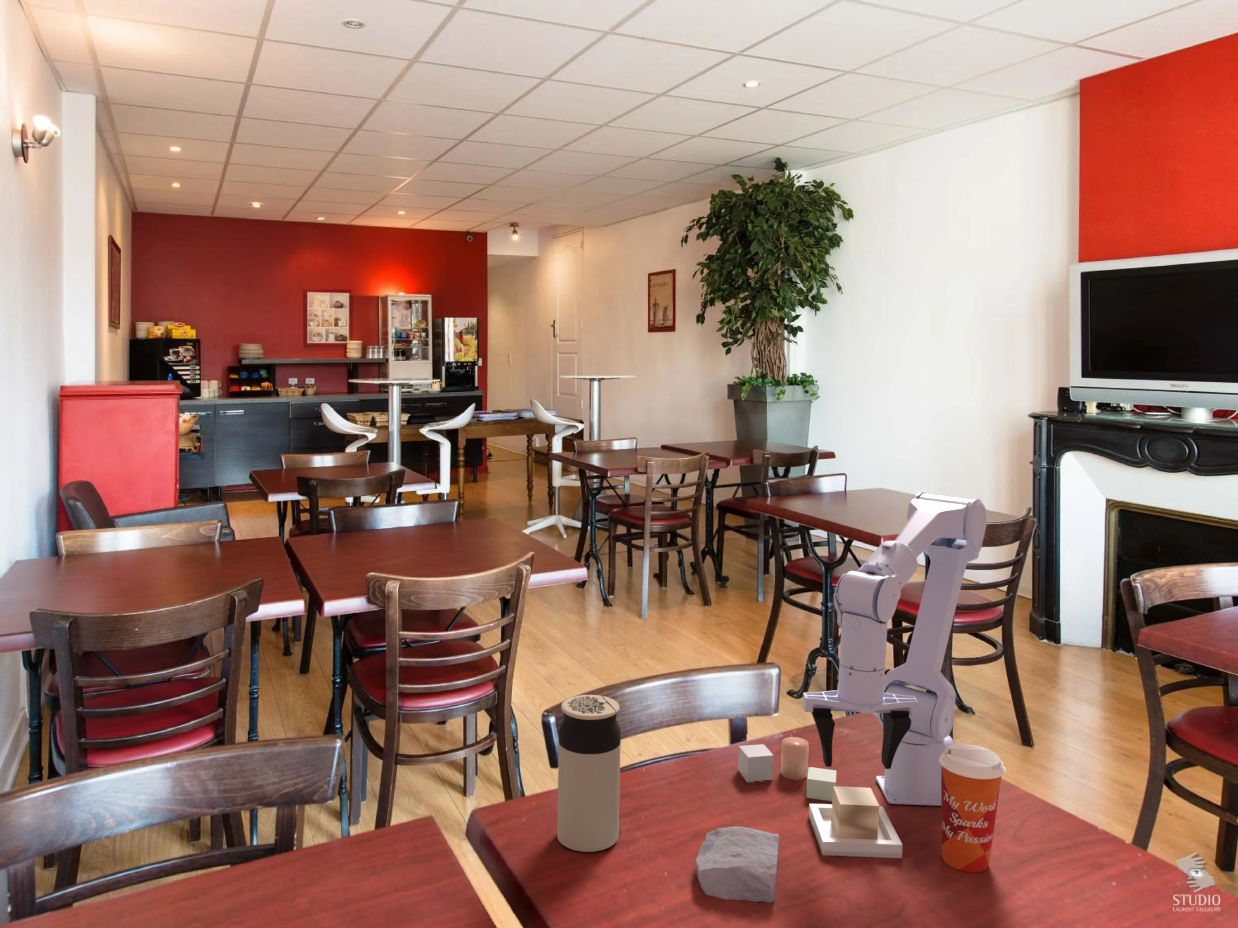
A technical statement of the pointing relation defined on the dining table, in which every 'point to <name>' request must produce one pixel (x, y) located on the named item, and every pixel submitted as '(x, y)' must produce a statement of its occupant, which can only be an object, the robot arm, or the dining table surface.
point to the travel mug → (589, 773)
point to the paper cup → (969, 805)
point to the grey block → (755, 763)
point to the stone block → (739, 864)
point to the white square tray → (831, 845)
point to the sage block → (820, 783)
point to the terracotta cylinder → (794, 758)
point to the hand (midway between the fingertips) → (856, 764)
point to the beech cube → (855, 813)
